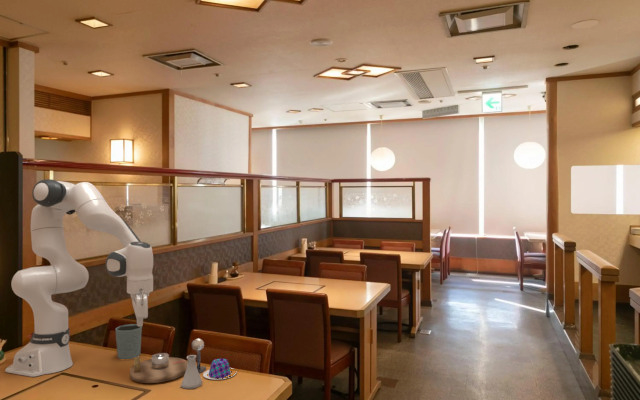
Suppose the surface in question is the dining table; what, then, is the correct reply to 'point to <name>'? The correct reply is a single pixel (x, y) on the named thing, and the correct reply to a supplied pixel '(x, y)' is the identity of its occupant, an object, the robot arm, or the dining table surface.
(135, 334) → the grey green cup
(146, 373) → the turntable
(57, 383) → the dining table surface
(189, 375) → the flask
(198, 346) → the grey knobbed rod
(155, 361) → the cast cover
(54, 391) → the dining table surface
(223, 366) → the pudding
